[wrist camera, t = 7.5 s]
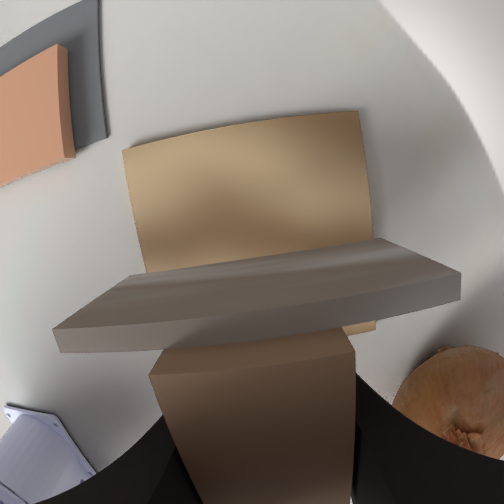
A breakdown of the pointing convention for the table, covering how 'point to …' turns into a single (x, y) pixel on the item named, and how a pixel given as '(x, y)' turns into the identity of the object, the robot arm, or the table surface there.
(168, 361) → the brown grey t-shaped block
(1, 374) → the table surface
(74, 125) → the slate mat
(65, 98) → the tile
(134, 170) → the oak board
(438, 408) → the onion
